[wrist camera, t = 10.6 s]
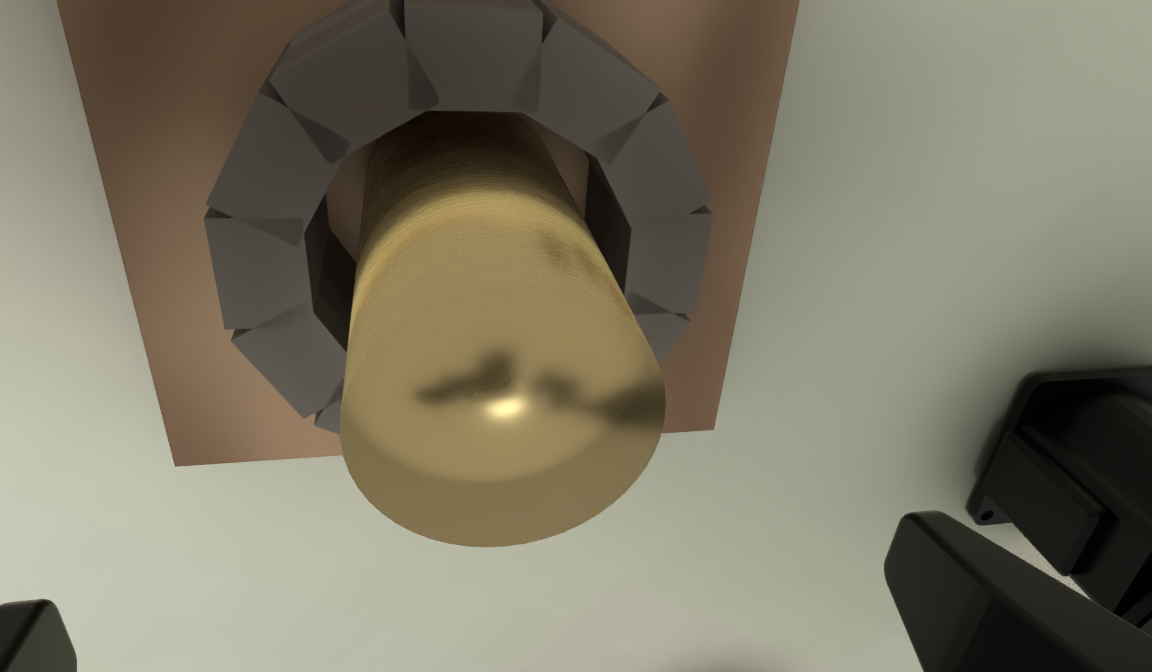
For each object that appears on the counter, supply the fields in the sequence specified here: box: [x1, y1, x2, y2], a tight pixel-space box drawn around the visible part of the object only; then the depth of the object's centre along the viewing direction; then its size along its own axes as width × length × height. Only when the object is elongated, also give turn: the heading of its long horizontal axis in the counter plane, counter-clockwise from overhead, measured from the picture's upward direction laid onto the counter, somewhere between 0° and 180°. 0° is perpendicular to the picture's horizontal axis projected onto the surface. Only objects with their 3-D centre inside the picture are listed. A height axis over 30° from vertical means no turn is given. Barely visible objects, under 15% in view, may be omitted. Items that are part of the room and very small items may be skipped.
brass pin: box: [340, 110, 666, 547], centre depth 14 cm, size 4×4×9 cm
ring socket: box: [57, 0, 799, 466], centre depth 17 cm, size 15×15×5 cm
